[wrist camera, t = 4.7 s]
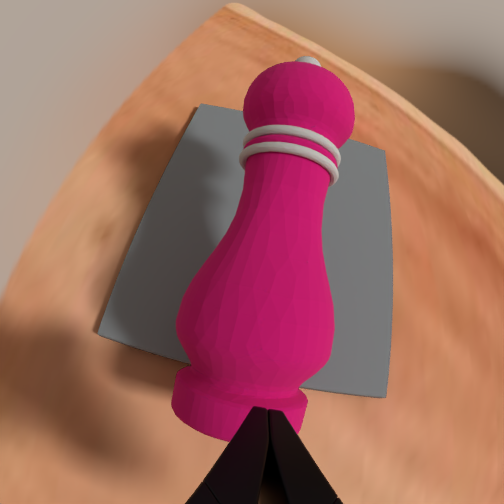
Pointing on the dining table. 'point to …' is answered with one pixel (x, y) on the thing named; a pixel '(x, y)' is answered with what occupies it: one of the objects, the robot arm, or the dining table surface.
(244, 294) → the pepper mill
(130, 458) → the dining table surface
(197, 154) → the mat
